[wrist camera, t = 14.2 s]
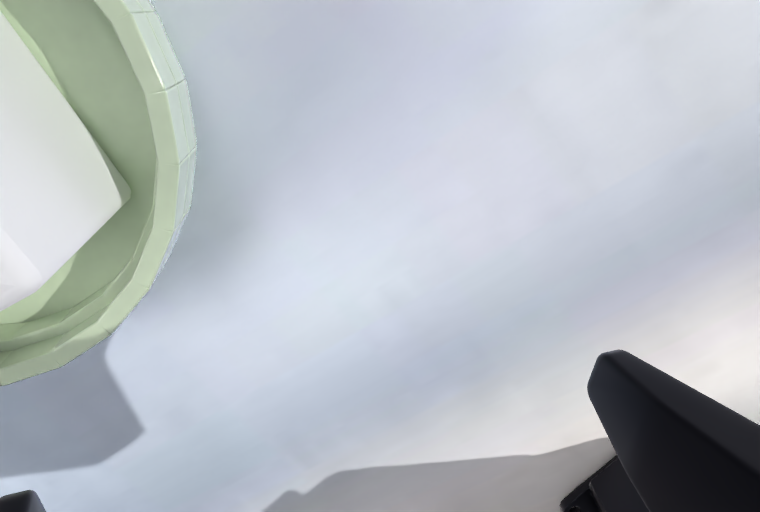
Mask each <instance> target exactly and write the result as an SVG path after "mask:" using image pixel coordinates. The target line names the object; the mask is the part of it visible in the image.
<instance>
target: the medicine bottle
mask: <svg viewBox="0 0 760 512" xmlns="http://www.w3.org/2000/svg"><path fill="white" fill-rule="evenodd" d="M130 196H131V189H130V187H129V185H128V184H127V182H126V181H125V180H124V178H123V177H122V175H121V174H120V173H119V171H118V170H117V169H116V167H115V166H114V165H113V163H112V162H111V160H110V159H109V158H108V156H107V155H106V154H105V152H104V151H103V150H102V148H101V147H100V145H99V144H98V143H97V141H96V140H95V139H94V137H93V136H92V135H91V133H90V132H89V130H88V129H87V128H86V126H85V125H84V124H83V122H82V121H81V120H80V118H79V117H78V116H77V114H76V113H75V111H74V110H73V109H72V107H71V106H70V105H69V103H68V102H67V101H66V99H65V98H64V96H63V95H62V94H61V92H60V91H59V90H58V88H57V87H56V86H55V84H54V83H53V81H52V80H51V79H50V77H49V76H48V75H47V73H46V72H45V71H44V69H43V68H42V66H41V65H40V64H39V62H38V61H37V60H36V58H35V57H34V56H33V54H32V53H31V52H30V50H29V49H28V47H27V46H26V45H25V43H24V42H23V41H22V39H21V38H20V37H19V35H18V34H17V32H16V31H15V30H14V28H13V27H12V26H11V24H10V23H9V22H8V20H7V19H6V17H5V16H4V15H3V13H2V12H1V11H0V311H2V310H4V309H6V308H8V307H10V306H11V305H13V304H15V303H17V302H19V301H20V300H22V299H24V298H26V297H28V296H29V295H31V294H33V293H35V292H36V291H37V290H38V289H39V288H40V287H41V286H42V285H44V284H45V283H46V282H47V281H48V280H49V279H50V278H51V277H52V276H53V275H54V274H55V273H56V272H57V271H58V270H59V269H60V268H61V267H62V266H63V265H64V264H65V263H66V262H67V261H68V260H69V259H70V258H71V257H72V256H73V255H74V254H75V253H76V252H77V251H78V250H79V249H80V248H81V247H82V246H83V245H84V244H85V243H86V242H87V241H88V240H89V239H90V238H91V237H92V236H93V235H94V234H95V233H96V232H97V231H98V230H99V229H100V228H101V227H102V226H103V225H104V224H105V223H106V222H107V221H108V220H109V219H110V218H111V217H112V216H113V215H114V214H115V213H116V212H117V211H118V210H119V209H120V208H121V207H122V206H123V205H124V204H125V203H126V202H127V201H128V200H129V199H130Z"/></svg>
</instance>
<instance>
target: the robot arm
mask: <svg viewBox="0 0 760 512" xmlns="http://www.w3.org/2000/svg"><path fill="white" fill-rule="evenodd" d="M587 389H588V394H589V397H590V400H591V402H592V404H593V406H594V408H595V410H596V412H597V414H598V416H599V418H600V420H601V423H602V425H603V427H604V429H605V431H606V433H607V435H608V437H609V439H610V441H611V443H612V445H613V447H614V449H615V451H616V453H617V455H616V456H615V457H614V458H613V459H612V460H610V461H609V462H608V463H607V464H606V465H604V466H603V467H602V468H601V469H599V470H598V471H597V472H596V473H595V474H593V475H592V476H591V477H590V478H588V479H587V480H586V481H585V482H584V483H582V484H581V485H580V486H579V487H577V488H576V489H575V490H574V491H573V492H571V493H570V494H569V495H568V496H566V497H565V498H564V499H563V500H562V501H561V504H560V507H561V510H562V512H760V425H758V424H756V423H754V422H752V421H751V420H749V419H747V418H745V417H743V416H742V415H740V414H738V413H736V412H734V411H733V410H731V409H729V408H727V407H725V406H724V405H722V404H720V403H718V402H716V401H715V400H713V399H711V398H709V397H707V396H706V395H704V394H702V393H700V392H698V391H697V390H695V389H693V388H691V387H689V386H688V385H686V384H684V383H682V382H680V381H679V380H677V379H675V378H673V377H671V376H670V375H668V374H666V373H664V372H662V371H661V370H659V369H657V368H655V367H653V366H652V365H650V364H648V363H646V362H644V361H643V360H641V359H639V358H637V357H635V356H634V355H632V354H630V353H628V352H626V351H623V350H614V351H610V352H606V353H602V354H601V355H599V356H598V358H597V360H596V363H595V365H594V368H593V371H592V373H591V376H590V379H589V381H588V386H587ZM572 507H574V508H572ZM0 512H46V511H45V509H44V507H43V505H42V503H41V501H40V499H39V497H38V495H37V494H36V493H35V492H34V491H32V490H26V491H22V492H18V493H14V494H9V495H5V496H3V497H1V498H0Z"/></svg>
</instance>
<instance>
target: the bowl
mask: <svg viewBox="0 0 760 512" xmlns="http://www.w3.org/2000/svg"><path fill="white" fill-rule="evenodd" d="M0 11H1V12H2V13H3V15H4V16H5V17H6V19H7V20H8V22H9V23H10V24H11V26H12V27H13V28H14V30H15V31H16V32H17V34H18V35H19V37H20V38H21V39H22V41H23V42H24V43H25V45H26V46H27V47H28V49H29V50H30V52H31V53H32V54H33V56H34V57H35V58H36V60H37V61H38V62H39V64H40V65H41V66H42V68H43V69H44V71H45V72H46V73H47V75H48V76H49V77H50V79H51V80H52V81H53V83H54V84H55V86H56V87H57V88H58V90H59V91H60V92H61V94H62V95H63V96H64V98H65V99H66V101H67V102H68V103H69V105H70V106H71V107H72V109H73V110H74V111H75V113H76V114H77V116H78V117H79V118H80V120H81V121H82V122H83V124H84V125H85V126H86V128H87V129H88V130H89V132H90V133H91V135H92V136H93V137H94V139H95V140H96V141H97V143H98V144H99V145H100V147H101V148H102V150H103V151H104V152H105V154H106V155H107V156H108V158H109V159H110V160H111V162H112V163H113V165H114V166H115V167H116V169H117V170H118V171H119V173H120V174H121V175H122V177H123V178H124V180H125V181H126V182H127V184H128V185H129V187H130V189H131V196H130V199H129V200H128V201H127V202H126V203H125V204H124V205H123V206H122V207H121V208H120V209H119V210H118V211H117V212H116V213H115V214H114V215H113V216H112V217H111V218H110V219H109V220H108V221H107V222H106V223H105V224H104V225H103V226H102V227H101V228H100V229H99V230H98V231H97V232H96V233H95V234H94V235H93V236H92V237H91V238H90V239H89V240H88V241H87V242H86V243H85V244H84V245H83V246H82V247H81V248H80V249H79V250H78V251H77V252H76V253H75V254H74V255H73V256H72V257H71V258H70V259H69V260H68V261H67V262H66V263H65V264H64V265H63V266H62V267H61V268H60V269H59V270H58V271H57V272H56V273H55V274H54V275H53V276H52V277H51V278H50V279H49V280H48V281H47V282H46V283H45V284H44V285H42V286H41V287H40V288H39V289H38V290H37V291H36V292H35V293H33V294H31V295H29V296H28V297H26V298H24V299H22V300H20V301H19V302H17V303H15V304H13V305H11V306H10V307H8V308H6V309H4V310H2V311H0V386H2V385H3V386H5V385H8V384H11V383H14V382H17V381H20V380H23V379H26V378H30V377H33V376H36V375H39V374H42V373H45V372H48V371H51V370H54V369H57V368H60V367H62V366H64V365H66V364H67V363H69V362H71V361H72V360H74V359H75V358H77V357H78V356H80V355H81V354H83V353H84V352H86V351H87V350H89V349H90V348H92V347H93V346H95V345H96V344H98V343H100V342H101V341H103V340H104V339H106V338H107V337H109V336H110V335H111V334H112V333H113V332H115V330H116V329H117V328H118V327H119V326H120V324H121V323H122V322H123V321H124V320H125V319H126V317H127V316H128V315H129V314H130V313H131V311H132V310H133V309H134V308H135V307H136V305H137V304H138V303H139V302H140V301H141V299H142V298H143V297H144V296H145V295H146V293H147V292H148V291H149V290H150V288H151V287H152V285H153V283H154V282H155V280H156V279H157V277H158V275H159V274H160V272H161V270H162V269H163V267H164V266H165V264H166V263H167V261H168V259H169V258H170V256H171V254H172V251H173V249H174V246H175V244H176V242H177V239H178V237H179V234H180V232H181V230H182V227H183V225H184V223H185V220H186V218H187V215H188V213H189V211H190V208H191V203H192V194H193V184H194V175H195V165H196V155H197V139H196V133H195V127H194V122H193V116H192V110H191V104H190V98H189V92H188V86H187V81H186V80H185V75H184V73H183V71H182V68H181V66H180V64H179V61H178V59H177V57H176V55H175V52H174V50H173V48H172V45H171V43H170V41H169V39H168V36H167V34H166V32H165V29H164V27H163V25H162V23H161V20H160V18H159V16H158V13H157V12H154V11H155V9H154V7H153V6H152V4H151V3H150V2H149V0H0Z"/></svg>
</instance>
